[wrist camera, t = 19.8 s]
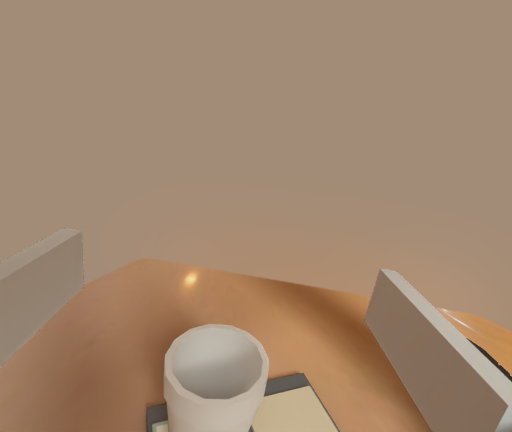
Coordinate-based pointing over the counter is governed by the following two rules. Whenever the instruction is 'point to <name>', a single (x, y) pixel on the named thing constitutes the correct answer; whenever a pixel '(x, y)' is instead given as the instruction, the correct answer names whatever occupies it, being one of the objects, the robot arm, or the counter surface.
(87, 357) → the counter surface
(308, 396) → the tile board
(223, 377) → the foam cup
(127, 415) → the counter surface
